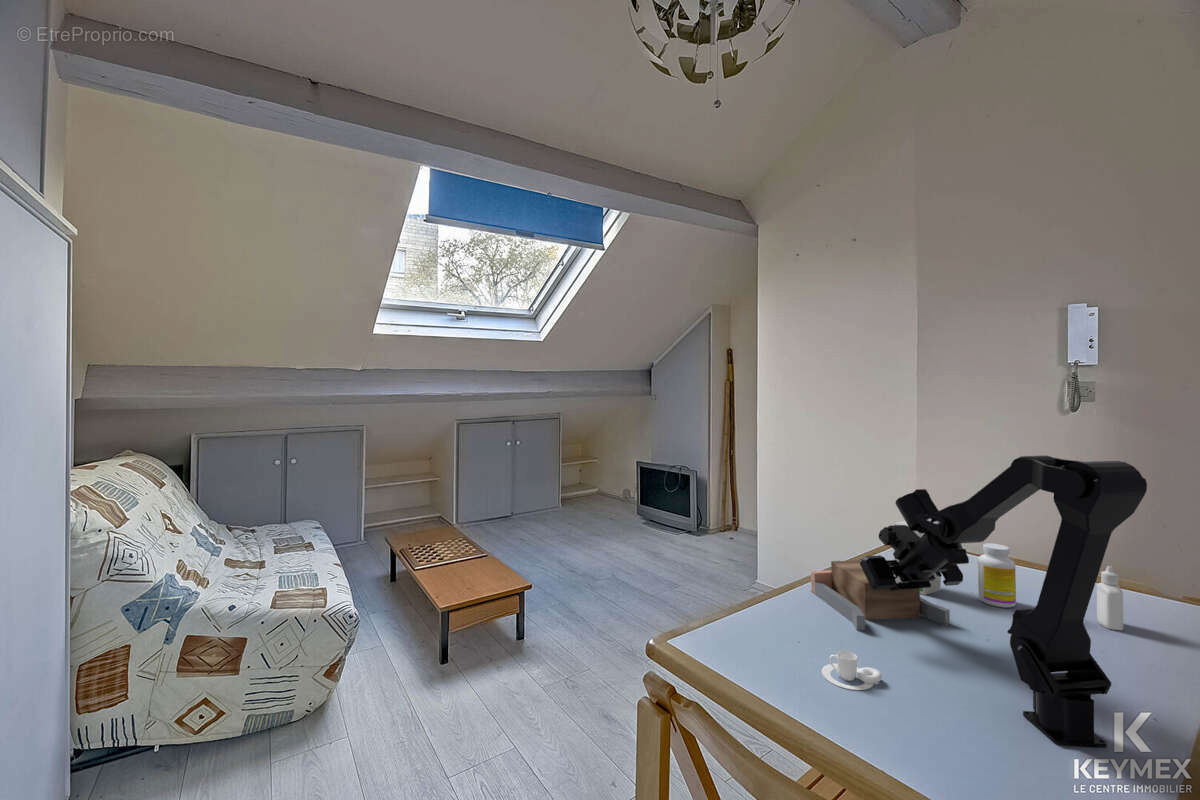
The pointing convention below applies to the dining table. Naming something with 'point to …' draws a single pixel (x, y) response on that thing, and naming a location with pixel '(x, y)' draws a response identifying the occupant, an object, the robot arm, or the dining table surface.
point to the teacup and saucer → (851, 671)
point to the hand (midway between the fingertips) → (891, 588)
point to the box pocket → (823, 590)
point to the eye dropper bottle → (1110, 601)
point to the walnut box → (873, 593)
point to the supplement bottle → (997, 576)
